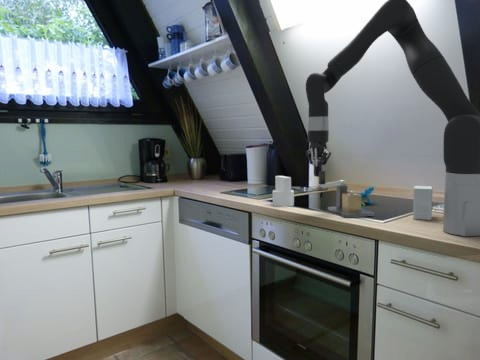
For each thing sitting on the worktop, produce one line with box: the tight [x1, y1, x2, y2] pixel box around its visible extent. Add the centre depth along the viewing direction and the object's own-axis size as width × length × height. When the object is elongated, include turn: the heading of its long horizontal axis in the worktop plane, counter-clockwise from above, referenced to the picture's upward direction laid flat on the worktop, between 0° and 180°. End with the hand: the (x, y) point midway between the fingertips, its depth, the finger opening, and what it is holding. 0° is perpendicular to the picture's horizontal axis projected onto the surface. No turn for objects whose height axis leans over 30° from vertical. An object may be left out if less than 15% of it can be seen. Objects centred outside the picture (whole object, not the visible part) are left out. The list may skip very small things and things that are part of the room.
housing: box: [342, 190, 362, 212], centre depth 130 cm, size 5×5×7 cm
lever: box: [318, 170, 347, 189], centre depth 134 cm, size 15×3×6 cm, turn 128°
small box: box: [412, 185, 433, 221], centre depth 121 cm, size 8×6×10 cm
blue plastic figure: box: [359, 186, 375, 207], centre depth 148 cm, size 11×6×10 cm
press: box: [327, 185, 375, 219], centre depth 132 cm, size 16×11×9 cm
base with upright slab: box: [272, 175, 295, 207], centre depth 151 cm, size 9×9×12 cm
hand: (317, 176), depth 133 cm, fingers closed
